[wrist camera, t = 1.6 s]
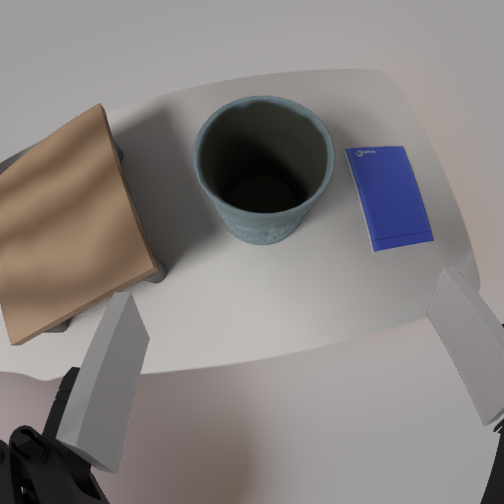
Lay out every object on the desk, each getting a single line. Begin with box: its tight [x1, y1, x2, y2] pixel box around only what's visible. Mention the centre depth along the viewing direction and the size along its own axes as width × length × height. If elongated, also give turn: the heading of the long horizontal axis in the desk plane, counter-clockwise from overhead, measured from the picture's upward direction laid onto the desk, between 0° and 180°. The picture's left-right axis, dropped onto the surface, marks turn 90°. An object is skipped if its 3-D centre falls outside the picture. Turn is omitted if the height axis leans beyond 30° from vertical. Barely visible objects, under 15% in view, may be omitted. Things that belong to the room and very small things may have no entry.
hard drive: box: [344, 146, 434, 253], centre depth 31 cm, size 2×8×12 cm
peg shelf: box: [0, 103, 166, 346], centre depth 27 cm, size 20×18×8 cm
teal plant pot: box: [193, 96, 335, 245], centre depth 26 cm, size 10×10×12 cm
